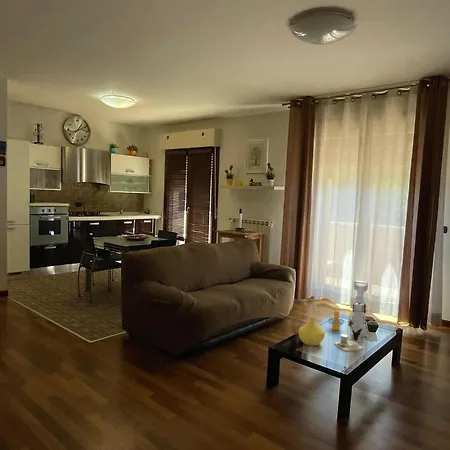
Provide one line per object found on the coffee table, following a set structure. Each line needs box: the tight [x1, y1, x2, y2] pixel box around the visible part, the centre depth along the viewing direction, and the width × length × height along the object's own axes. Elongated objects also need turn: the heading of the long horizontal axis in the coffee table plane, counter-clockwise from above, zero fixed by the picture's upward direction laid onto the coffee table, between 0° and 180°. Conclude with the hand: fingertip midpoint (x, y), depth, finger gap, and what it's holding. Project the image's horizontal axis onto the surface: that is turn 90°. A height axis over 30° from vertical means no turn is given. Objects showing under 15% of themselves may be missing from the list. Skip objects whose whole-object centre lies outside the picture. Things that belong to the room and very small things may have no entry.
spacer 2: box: [351, 334, 362, 343], centre depth 273 cm, size 4×4×5 cm
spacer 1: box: [339, 333, 349, 344], centre depth 278 cm, size 4×4×5 cm
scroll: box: [348, 302, 367, 326], centre depth 321 cm, size 15×15×20 cm
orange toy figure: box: [327, 309, 345, 331], centre depth 311 cm, size 12×10×15 cm
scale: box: [333, 339, 364, 352], centre depth 276 cm, size 15×13×2 cm
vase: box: [298, 316, 325, 347], centre depth 278 cm, size 18×18×19 cm
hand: (356, 339), depth 273 cm, fingers closed on spacer 2, 5 cm apart
